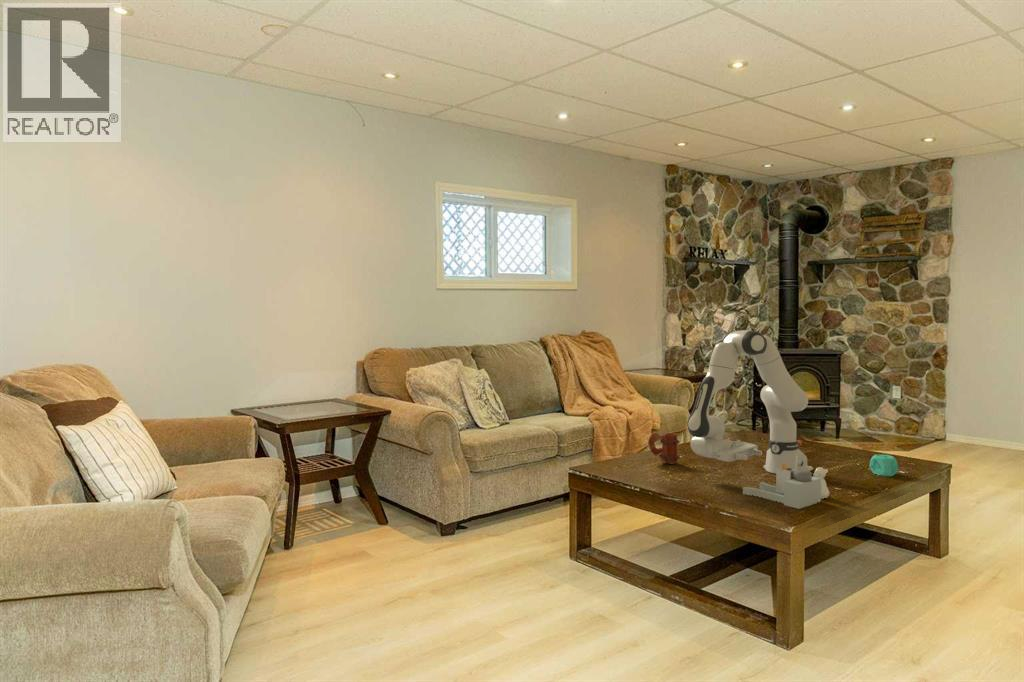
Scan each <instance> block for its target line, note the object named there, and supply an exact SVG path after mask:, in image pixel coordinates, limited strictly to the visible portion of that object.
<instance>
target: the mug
mask: <svg viewBox="0 0 1024 682" xmlns="http://www.w3.org/2000/svg"><path fill="white" fill-rule="evenodd" d="M659 440H660V441H659ZM657 441H659V442H660V443H661V447H660V448H657V447H656V446H655V442H657ZM679 444H680V441H679V439H678V434H677V433H673V432H672V433H670V432H666V433H663V434H660V433H658V432H657V431H654V432H652V433H651V434H650V435H649V436H648V447H649V450H650V452H651V453H652V454H653V455H654V456H658V455H659V458H660V462H661V463H663V464H665V463H669V464H673V463H676V464H677V463H678V460H679V459H680V456H679V454H678V445H679ZM669 464H668V465H669ZM673 465H674V464H673Z"/></svg>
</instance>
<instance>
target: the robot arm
mask: <svg viewBox="0 0 1024 682" xmlns="http://www.w3.org/2000/svg"><path fill="white" fill-rule="evenodd" d="M742 356H743V357H744V356H751V357H752V358H753V362H754V364H755V366H756V368H757V371H758V374H759V376H760V378H761V380H762V381H763V382H764V383H765V384H766V385H764V386H763V387H762V388H761V390H760V396H759V397H760V399H761V401H762V403H763V404H764V406H765V408H766V413H767V415H768V420H769V439H768V449H767V450H766V456H765V458H766V459H765V464H763V468H764V469H765V471H766V472H769V473H772V474H775V475H776V468H780V467H782V464H784V463H786V467H789V468H794V469H798V470H805V471H810V472H811V471H813V470H814V467H813V466H811V465H808V457H807V456H806V455H805V454H804V453H803V452H802V450H800V446H802V440H799V439H798V440H797V431H798V429H797V425H798V424H797V423H796V421H795V419H794V418H793V415H792V413H794V412H795V413H796V412H802V411H803V410H805V409H806V408H807V406H808V404H809V395H808V394H807V392H805V391H804V390H803V389H802V388H801V387H800V386H799V385H798V383H796V381H795V380H794V379H793V377H792V376H791V374H790V373H789V371H788V370H787V368H786V365H785V363H784V362H783V358H782V356H781V354H780V352H779V349H778V348H777V346H776V344H775V343H774V341H773V340H772V338H771V337H770V336H768V335H764V334H763V333H761V332H759V331H756V330H748V329H747V330H745V329H741V330H731V331H728V332H726V333H725V334H724V335H723V336H722V338H721V340H720V342H718V343H716V344H715V346H714V347H713V350H712V353H711V357H710V359H709V365H708V370H707V372H706V375H705V377H704V378H703V379H702V381H701V383H700V386H699V387H698V388H699V389H698V391H697V395H696V398H695V402H694V405H693V409H692V411H691V413H690V415H689V416H688V418H687V419H688V420H687V423H686V424H687V425H686V426H687V430H688V433H689V435H691V436H693V437H692V438H691V439H690V448H691V449H690V450H692V452H693V453H694V454H696V455H697V456H700V457H704V458H709V459H712V458H714V459H715V460H718V461H722V462H726V463H731V462H734V461H737V460H738V461H740V460H743V461H746V460H749V457H751V456H754V455H756V456H757V457H758V456H763V451H762V450H759V449H758V445H757V444H754V443H751V442H746V441H741V440H740V439H724V438H725V433H726V429H727V428H726V427H727V425H726V422H725V421H724V419H723V418H721V416H716V415H715V416H714V415H711V414H710V415H709V413H708V412H709V409H710V405H711V402H712V399H713V396H714V395H715V394H716V393H717V392H719V391H720V390H723V389H725V388H728V387H730V385H731V384H733V380H734V379H735V375H736V370H737V369H736V368H737V361H738V359H739V357H742Z"/></svg>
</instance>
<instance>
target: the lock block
mask: <svg viewBox="0 0 1024 682" xmlns="http://www.w3.org/2000/svg"><path fill="white" fill-rule="evenodd" d="M796 470H798V469H794V468H789V467H786V463H784V464H782V467H780V468H776V474H775V478H776V479H775V481H776V482H775V486H776V493H777V494H781V495H784V482H785V481H788V480H792V479H794V471H796Z"/></svg>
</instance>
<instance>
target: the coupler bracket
mask: <svg viewBox="0 0 1024 682" xmlns="http://www.w3.org/2000/svg"><path fill="white" fill-rule="evenodd" d="M812 475H813V473H812V472H811V471H805V470H796V471H794V479H792V480H788V481H785V482H784V495H781V494H777V493H776V485H773V484H769V483H766V482H764V481H761V482H759V488H754V487H747V486H744V487H742V495H745V494H746V496H752V495H753V496H752V497H757V496H758V498H761V497H762V499H765V500H769V501H773V502H776V501H777V503H780V502H781V504H783V505H784V506H785V507H790V508H794V509H798V510H800V509H803V508H806V507H810V506H812V505H815V504H818V503H821V502H820V501H822V499H821V478H817V477H814V476H812ZM817 502H818V503H817Z"/></svg>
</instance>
